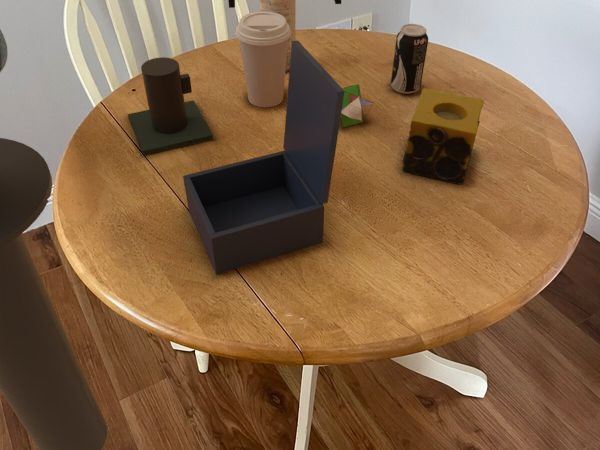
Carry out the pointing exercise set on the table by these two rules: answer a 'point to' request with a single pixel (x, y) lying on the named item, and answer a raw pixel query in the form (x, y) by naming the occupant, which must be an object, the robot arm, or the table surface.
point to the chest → (253, 210)
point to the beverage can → (409, 58)
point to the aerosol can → (285, 5)
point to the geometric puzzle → (352, 106)
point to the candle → (442, 135)
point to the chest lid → (312, 120)
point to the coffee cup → (264, 56)
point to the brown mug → (166, 94)
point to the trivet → (160, 142)
